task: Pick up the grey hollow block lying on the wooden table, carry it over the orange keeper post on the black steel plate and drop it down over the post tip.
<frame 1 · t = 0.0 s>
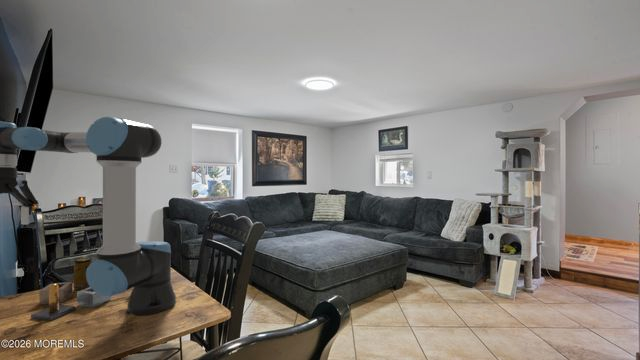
hand: (2, 227, 103), 28 cm above the table, fingers open, 13 cm apart
figurine: (139, 291, 120), on the table
grey hollow block: (94, 302, 108), on the table
keeper: (54, 313, 100), on the table
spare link: (56, 299, 111), on the table
condiment: (85, 289, 121), on the table
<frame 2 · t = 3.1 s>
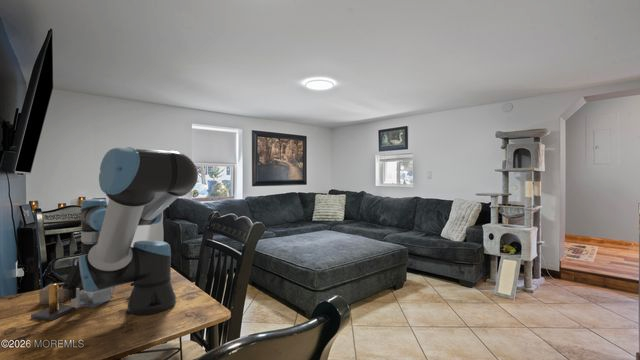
hand: (94, 298, 109), 1 cm above the table, fingers open, 13 cm apart
nothing on the table moved.
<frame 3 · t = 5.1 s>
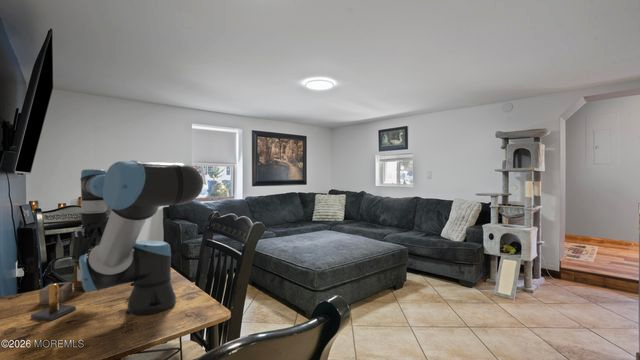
hand: (94, 274, 108), 11 cm above the table, fingers closed on grey hollow block, 7 cm apart
grey hollow block: (94, 278, 108), point 9 cm above the table, touching gripper
everything else where it was.
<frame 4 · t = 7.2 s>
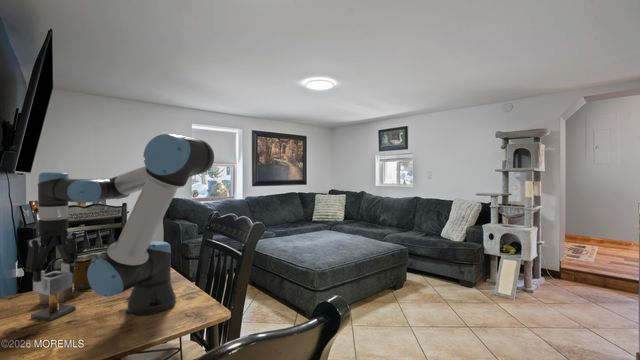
hand: (53, 286, 99), 9 cm above the table, fingers closed on grey hollow block, 7 cm apart
grey hollow block: (53, 289, 100), point 8 cm above the table, touching gripper
everything else where it was.
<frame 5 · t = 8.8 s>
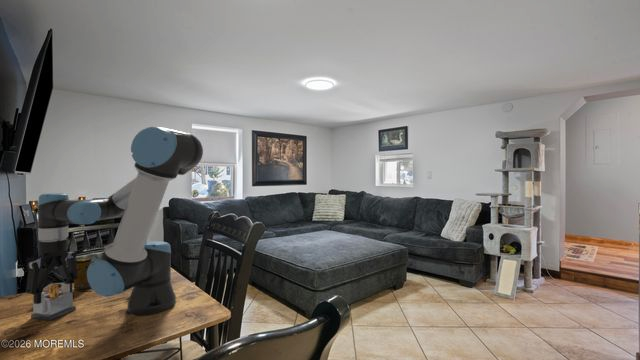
hand: (53, 307, 100), 2 cm above the table, fingers closed on grey hollow block, 7 cm apart
grey hollow block: (53, 310, 100), point 1 cm above the table, touching gripper, keeper
everything else where it was.
when the fingers open (2 cm above the table, at t = 9.5 s): grey hollow block stays where it is, resting on keeper.
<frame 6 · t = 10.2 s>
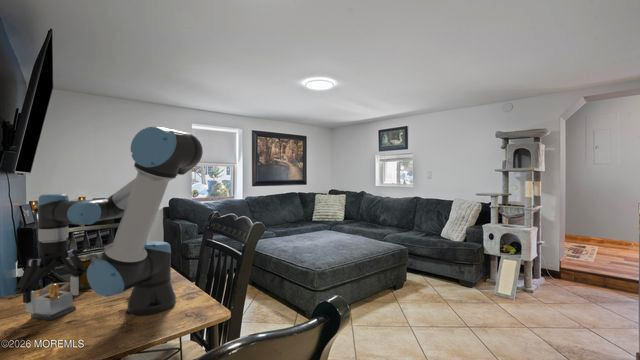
hand: (53, 302, 100), 4 cm above the table, fingers open, 13 cm apart
grey hollow block: (53, 310, 100), point 1 cm above the table, touching keeper
everything else where it was.
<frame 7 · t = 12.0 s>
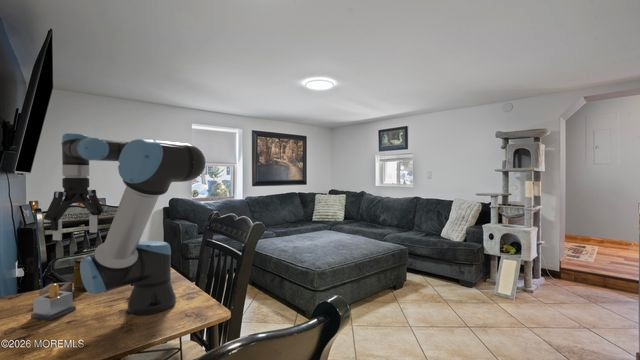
hand: (76, 236, 107), 25 cm above the table, fingers open, 13 cm apart
nothing on the table moved.
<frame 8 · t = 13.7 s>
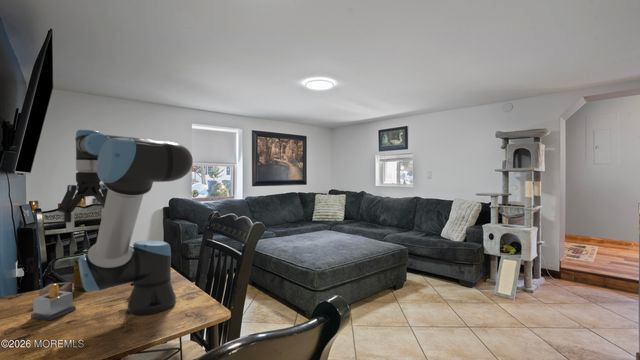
hand: (88, 227, 112), 27 cm above the table, fingers open, 13 cm apart
nothing on the table moved.
at the end: grey hollow block 0.2 cm off-centre on the keeper, point 1.2 cm above the keeper's base; the gripper is holding nothing; grey hollow block touching keeper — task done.
